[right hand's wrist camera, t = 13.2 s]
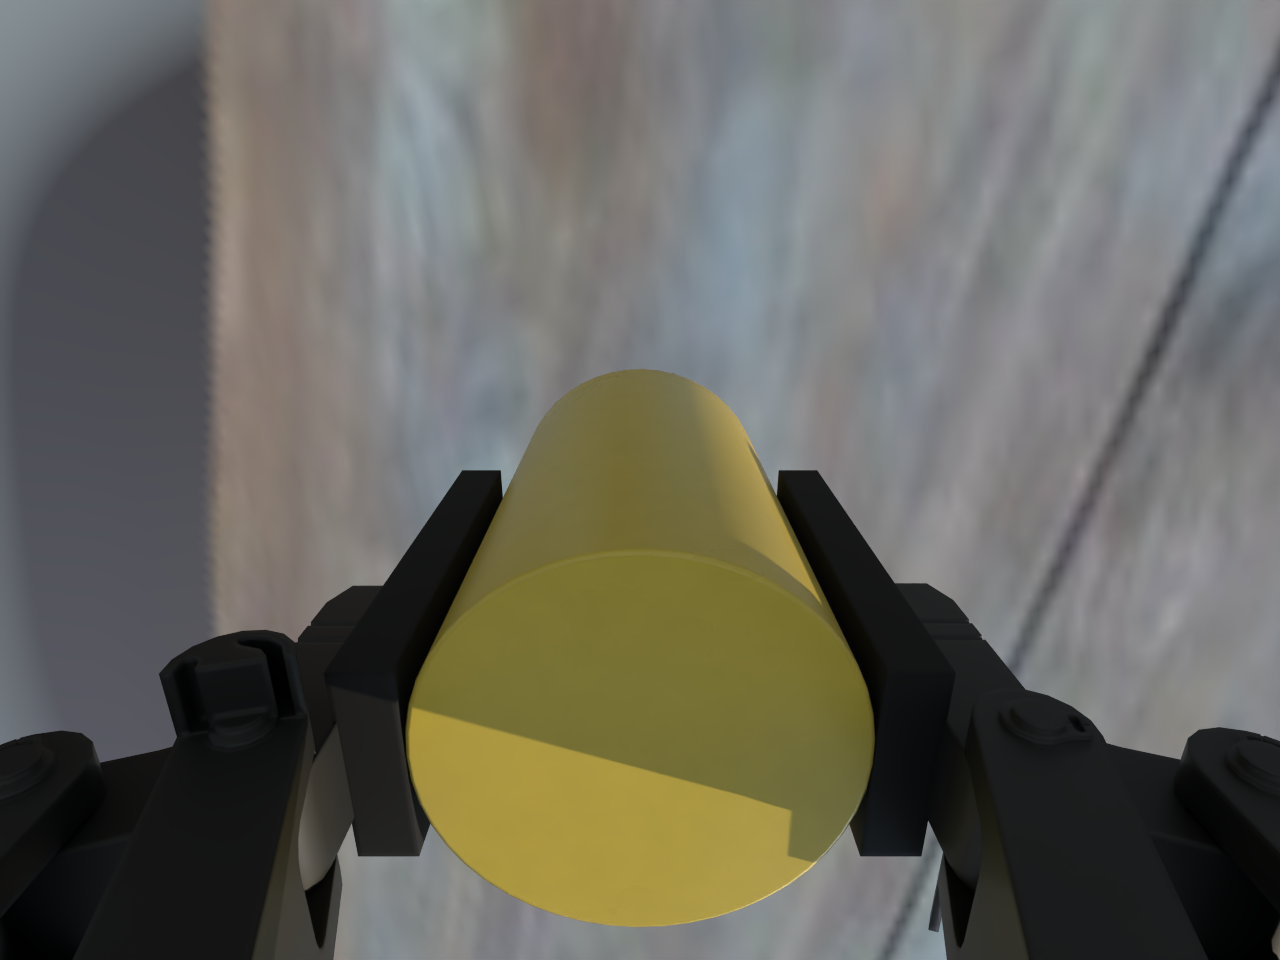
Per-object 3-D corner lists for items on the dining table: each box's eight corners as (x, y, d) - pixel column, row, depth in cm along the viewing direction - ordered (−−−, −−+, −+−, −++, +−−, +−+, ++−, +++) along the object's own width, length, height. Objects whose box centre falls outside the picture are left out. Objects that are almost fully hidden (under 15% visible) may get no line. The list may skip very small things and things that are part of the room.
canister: (750, 356, 16) (879, 525, 7) (761, 574, 17) (875, 912, 9) (505, 382, 16) (350, 577, 7) (543, 595, 18) (455, 944, 9)
